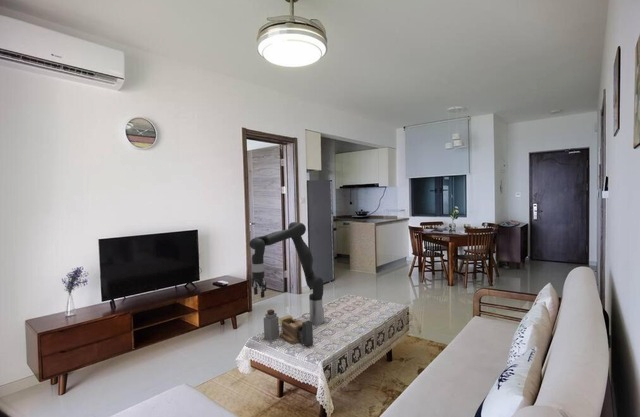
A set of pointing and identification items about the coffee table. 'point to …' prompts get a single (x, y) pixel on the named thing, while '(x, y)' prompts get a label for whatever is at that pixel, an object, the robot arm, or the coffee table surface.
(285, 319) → the spacer
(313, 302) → the robot arm
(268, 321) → the perfume bottle
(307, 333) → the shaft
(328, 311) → the coffee table surface
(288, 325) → the guide block
